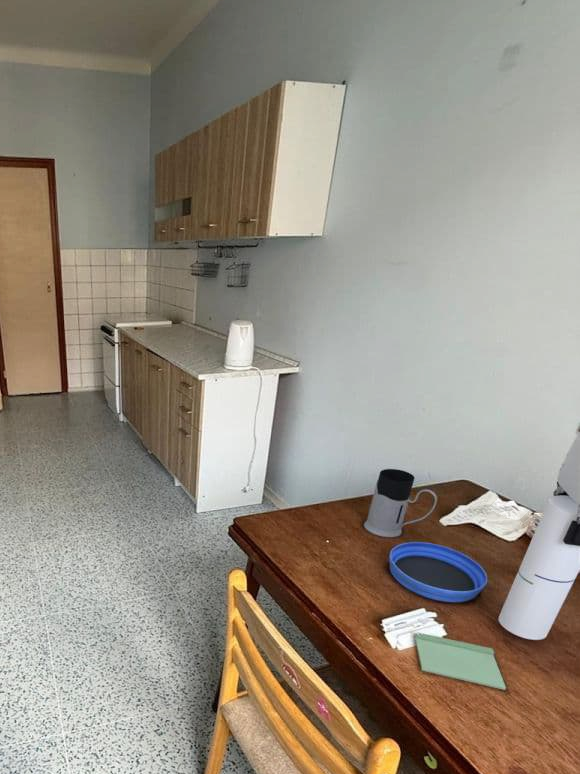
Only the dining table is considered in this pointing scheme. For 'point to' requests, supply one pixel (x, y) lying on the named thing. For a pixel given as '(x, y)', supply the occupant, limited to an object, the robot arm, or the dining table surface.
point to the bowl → (437, 572)
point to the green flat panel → (458, 660)
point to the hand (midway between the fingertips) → (565, 531)
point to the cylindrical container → (543, 573)
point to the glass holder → (391, 503)
